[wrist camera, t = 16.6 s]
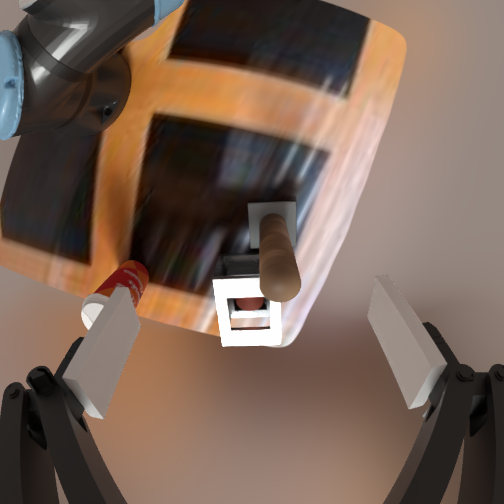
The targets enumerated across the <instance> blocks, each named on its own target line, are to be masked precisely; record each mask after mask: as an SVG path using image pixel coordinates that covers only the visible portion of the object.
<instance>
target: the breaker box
mask: <svg viewBox="0 0 504 504" xmlns="http://www.w3.org/2000/svg"><path fill="white" fill-rule="evenodd" d="M213 285H214V292H215V299H216V306H217V312H218V319H219V325H220V331H221V338H222V344H223V346H233V345H235V346H237V345H268V344H281V302H273V301H270V300H268V299H267V298H265V297H264V296H263V294H262V293H261V291H260V268H259V252H256V253H234V254H219V258H218V261H217V265H216V269H215V273H214V277H213ZM242 297H264V303H263V305H262V306H261V307H260V308H259V309H257V310H254V311H246V310H243V309H241V308H240V307H239V306H238V305H237V303H236V300H235V298H242ZM247 317H270V324H271V326H268V327H242V328H231V326H230V323H231V318H247Z"/></svg>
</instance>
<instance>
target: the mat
mask: <svg viewBox="0 0 504 504" xmlns="http://www.w3.org/2000/svg"><path fill="white" fill-rule="evenodd" d="M270 213H275V214H279V215H280V216H282V217H283V218H284V220H285V222H286V226H287V229H288V233H289V237H290V240H291V244H292V246H296V201H283V202H260V203H248V215H249V230H250V246H251V248H259V224H260V221H261V219H262V218H263V217H264V216H265V215H267V214H270Z"/></svg>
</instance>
